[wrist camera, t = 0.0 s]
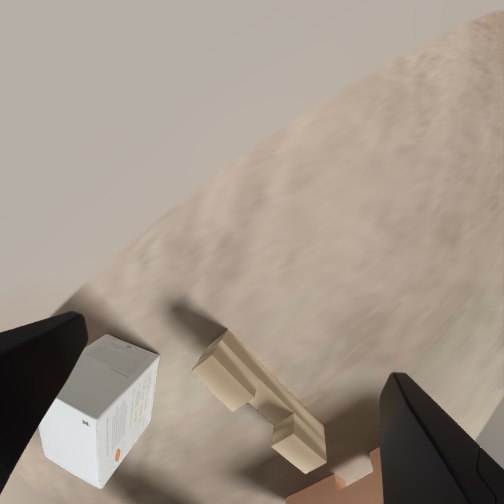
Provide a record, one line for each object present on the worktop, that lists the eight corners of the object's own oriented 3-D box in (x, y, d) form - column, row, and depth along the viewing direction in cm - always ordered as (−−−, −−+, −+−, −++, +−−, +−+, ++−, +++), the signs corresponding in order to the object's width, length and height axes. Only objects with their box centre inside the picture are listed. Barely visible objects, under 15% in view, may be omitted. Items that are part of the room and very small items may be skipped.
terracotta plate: (298, 505, 26) (294, 561, 18) (286, 497, 26) (280, 554, 18) (430, 426, 23) (460, 479, 15) (422, 416, 23) (452, 470, 15)
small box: (107, 331, 26) (29, 378, 16) (162, 354, 25) (97, 419, 15) (102, 399, 27) (41, 456, 17) (151, 422, 26) (100, 491, 16)
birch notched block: (305, 436, 24) (305, 474, 20) (210, 343, 25) (191, 371, 20) (323, 425, 24) (327, 462, 19) (228, 329, 24) (211, 354, 19)
